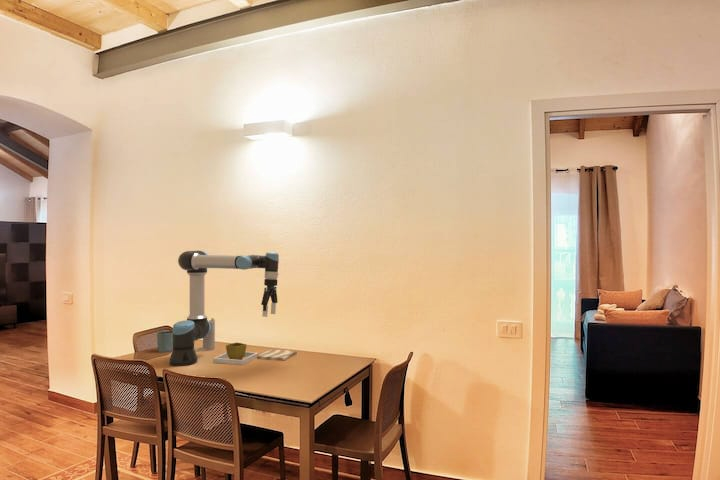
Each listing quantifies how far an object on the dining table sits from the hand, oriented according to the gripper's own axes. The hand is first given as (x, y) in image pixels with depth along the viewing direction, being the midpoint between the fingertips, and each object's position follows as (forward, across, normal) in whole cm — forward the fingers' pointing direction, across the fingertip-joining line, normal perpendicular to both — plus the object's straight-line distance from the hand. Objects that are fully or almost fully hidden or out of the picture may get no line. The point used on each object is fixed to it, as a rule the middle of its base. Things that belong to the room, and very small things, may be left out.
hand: (269, 315), depth 259 cm
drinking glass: (+30, +18, +75) cm, 82 cm away
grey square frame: (+28, +3, +20) cm, 34 cm away
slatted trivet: (+26, +15, -1) cm, 30 cm away
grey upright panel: (+28, +24, +52) cm, 64 cm away
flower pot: (+28, +3, +20) cm, 35 cm away
